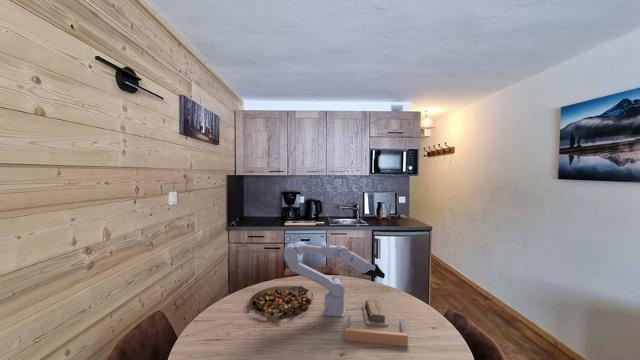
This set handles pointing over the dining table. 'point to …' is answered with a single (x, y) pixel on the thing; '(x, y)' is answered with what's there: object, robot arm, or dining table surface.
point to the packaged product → (374, 313)
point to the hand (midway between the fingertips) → (380, 276)
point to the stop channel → (376, 335)
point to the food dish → (281, 302)
